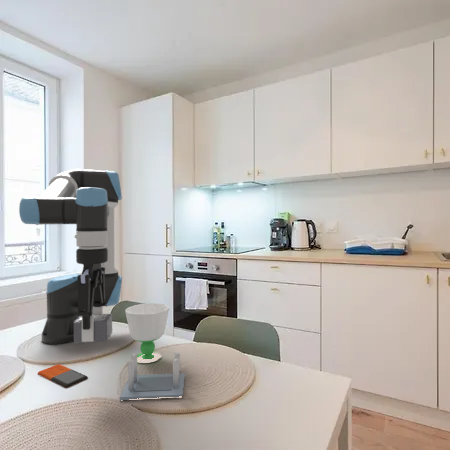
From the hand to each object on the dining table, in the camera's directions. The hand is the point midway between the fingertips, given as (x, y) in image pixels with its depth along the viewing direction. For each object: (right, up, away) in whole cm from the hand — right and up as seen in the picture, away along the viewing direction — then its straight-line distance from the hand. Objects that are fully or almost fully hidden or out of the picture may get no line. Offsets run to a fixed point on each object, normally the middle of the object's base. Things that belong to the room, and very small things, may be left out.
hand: (92, 335), depth 81 cm
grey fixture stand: (+16, -14, 0) cm, 21 cm away
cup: (+10, -14, +18) cm, 25 cm away
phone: (-11, -15, +7) cm, 20 cm away
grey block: (0, -1, 0) cm, 1 cm away
